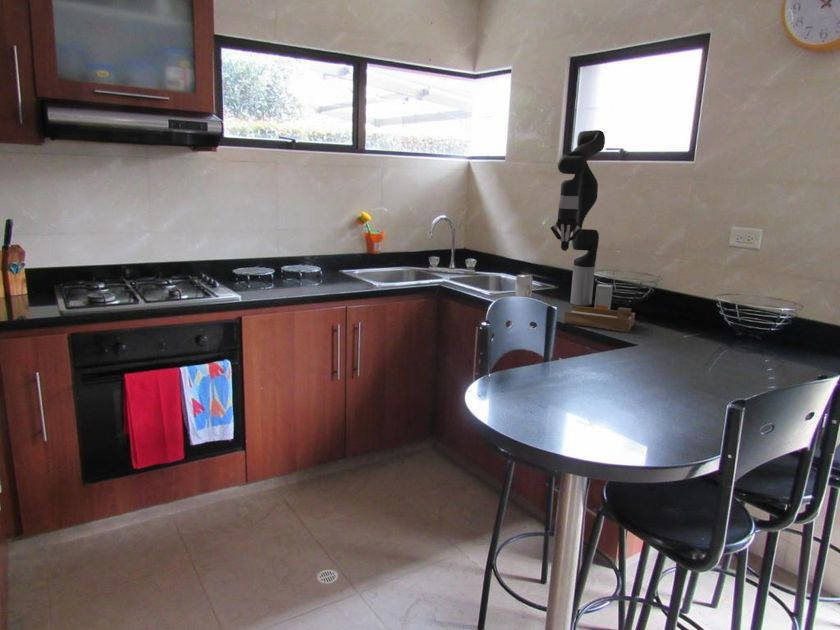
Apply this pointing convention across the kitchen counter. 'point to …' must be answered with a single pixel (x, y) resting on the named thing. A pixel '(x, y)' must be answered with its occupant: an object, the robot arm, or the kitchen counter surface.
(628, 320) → the trap tray
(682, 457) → the kitchen counter surface
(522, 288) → the blue flashlight
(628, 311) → the block
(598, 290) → the skincare box
